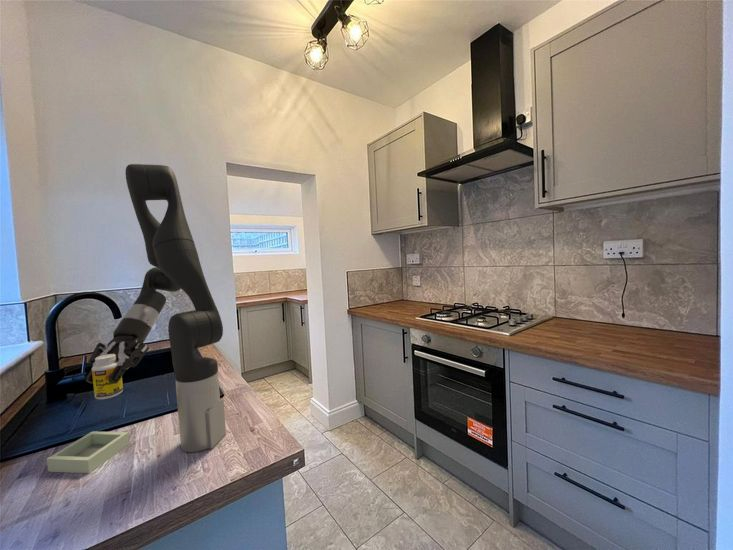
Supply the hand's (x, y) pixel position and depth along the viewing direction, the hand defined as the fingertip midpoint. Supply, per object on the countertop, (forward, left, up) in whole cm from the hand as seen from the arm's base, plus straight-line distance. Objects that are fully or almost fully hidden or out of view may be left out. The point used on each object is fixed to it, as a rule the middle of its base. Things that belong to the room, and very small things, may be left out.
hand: (100, 382), depth 74 cm
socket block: (-1, +5, -16) cm, 17 cm away
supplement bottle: (0, -2, -4) cm, 5 cm away
